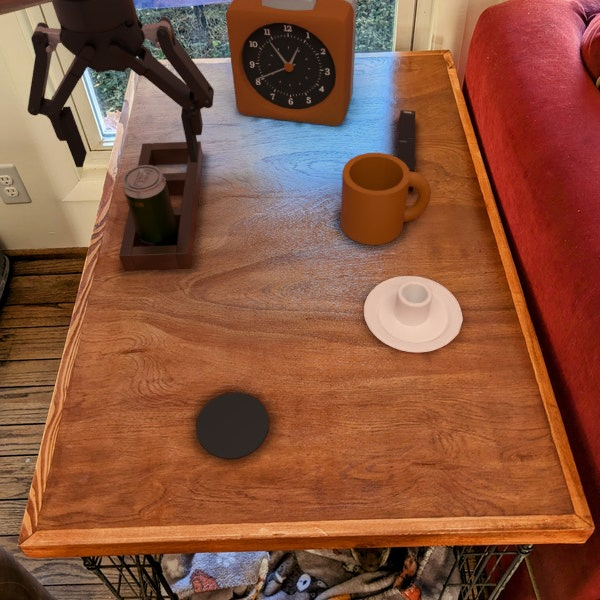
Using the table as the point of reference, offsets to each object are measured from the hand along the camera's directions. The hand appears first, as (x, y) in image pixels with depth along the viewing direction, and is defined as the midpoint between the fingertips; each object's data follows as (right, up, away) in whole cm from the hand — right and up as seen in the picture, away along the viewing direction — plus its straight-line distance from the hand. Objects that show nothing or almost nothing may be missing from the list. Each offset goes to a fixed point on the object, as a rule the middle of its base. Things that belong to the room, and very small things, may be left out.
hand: (138, 158), depth 75 cm
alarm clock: (+19, +16, +32) cm, 40 cm away
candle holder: (+33, -19, +3) cm, 39 cm away
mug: (+31, -7, +13) cm, 35 cm away
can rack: (0, -4, +16) cm, 17 cm away
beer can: (0, -10, +12) cm, 15 cm away
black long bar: (+36, +5, +23) cm, 43 cm away
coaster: (+12, -31, -6) cm, 34 cm away
